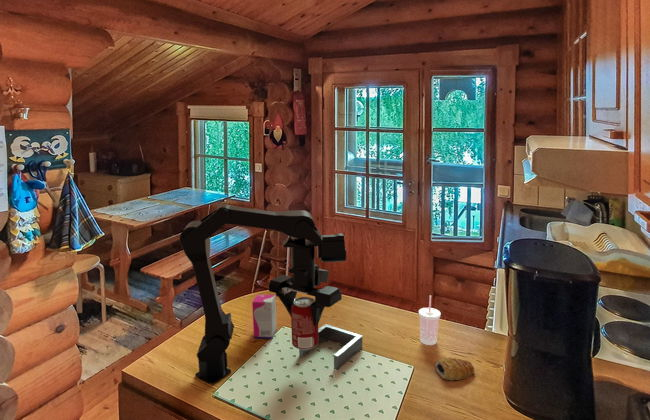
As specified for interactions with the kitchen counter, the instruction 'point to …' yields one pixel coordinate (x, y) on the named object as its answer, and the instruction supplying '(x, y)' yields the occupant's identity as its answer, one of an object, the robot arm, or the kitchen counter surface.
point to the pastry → (454, 368)
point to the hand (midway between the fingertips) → (304, 321)
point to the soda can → (303, 324)
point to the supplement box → (264, 316)
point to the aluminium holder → (342, 337)
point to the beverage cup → (429, 324)
